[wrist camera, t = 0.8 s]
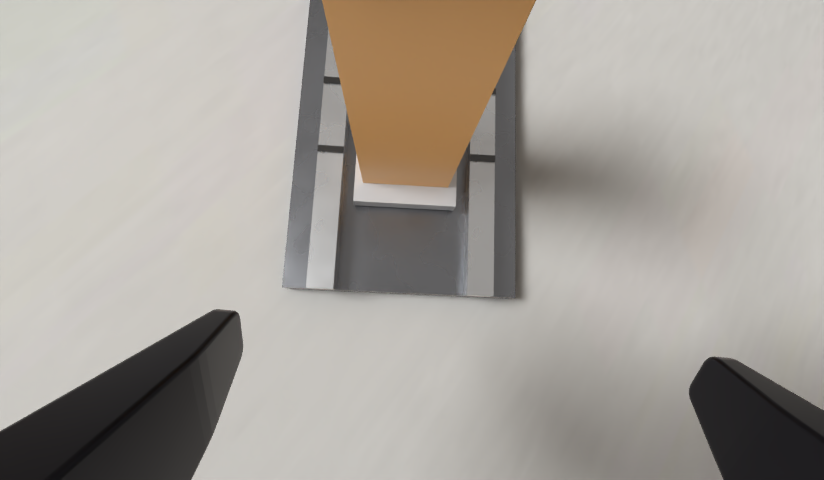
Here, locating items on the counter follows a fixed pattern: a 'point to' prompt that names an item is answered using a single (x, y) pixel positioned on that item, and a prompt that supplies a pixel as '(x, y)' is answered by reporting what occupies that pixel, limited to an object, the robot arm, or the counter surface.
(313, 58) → the plate
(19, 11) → the counter surface
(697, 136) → the counter surface
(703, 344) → the counter surface
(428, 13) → the fader tab
